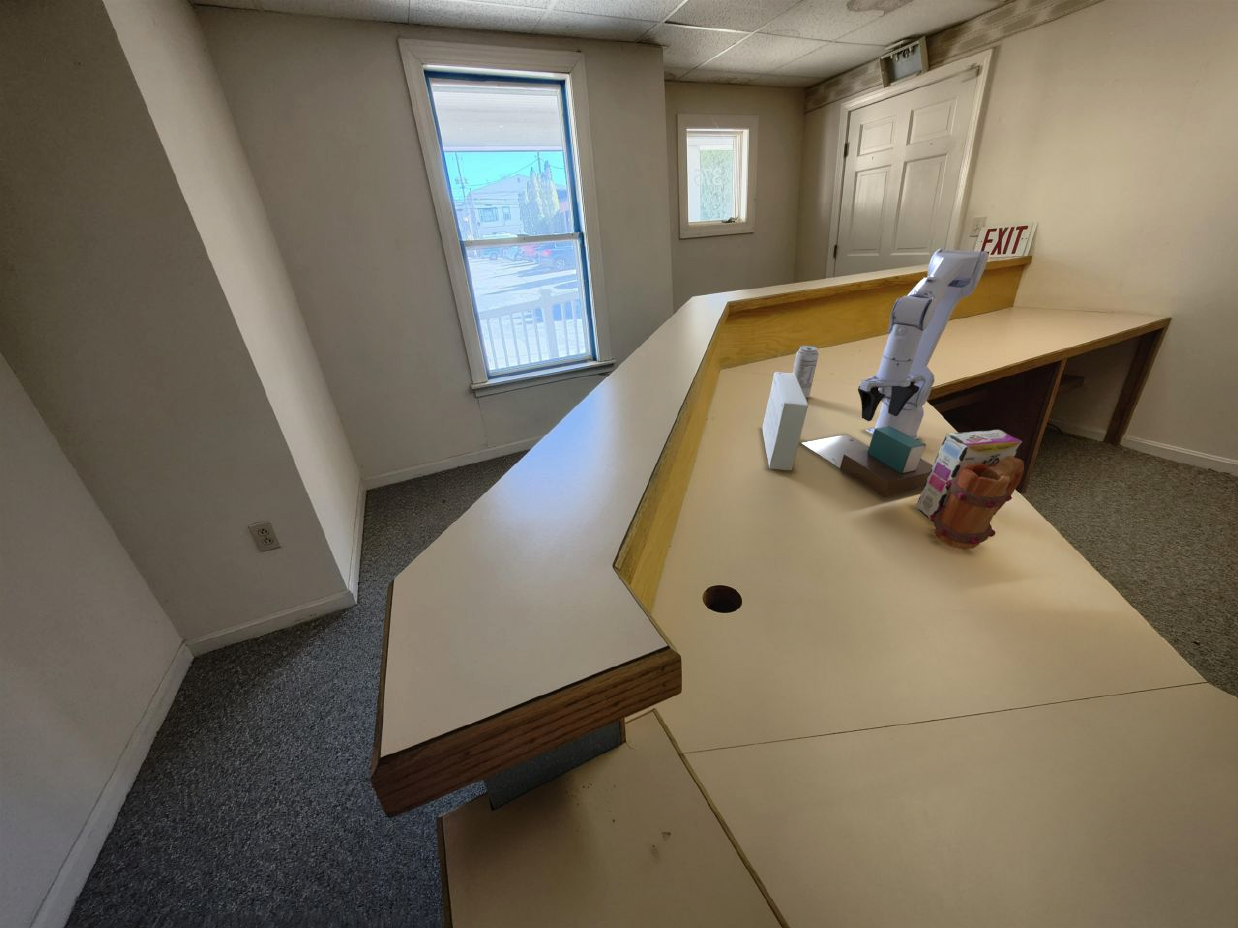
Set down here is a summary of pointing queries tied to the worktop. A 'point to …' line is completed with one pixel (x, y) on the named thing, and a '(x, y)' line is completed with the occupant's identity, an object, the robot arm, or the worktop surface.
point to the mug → (976, 502)
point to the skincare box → (784, 420)
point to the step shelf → (869, 466)
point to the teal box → (896, 449)
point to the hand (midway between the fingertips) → (879, 416)
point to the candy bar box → (962, 463)
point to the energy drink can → (805, 367)
